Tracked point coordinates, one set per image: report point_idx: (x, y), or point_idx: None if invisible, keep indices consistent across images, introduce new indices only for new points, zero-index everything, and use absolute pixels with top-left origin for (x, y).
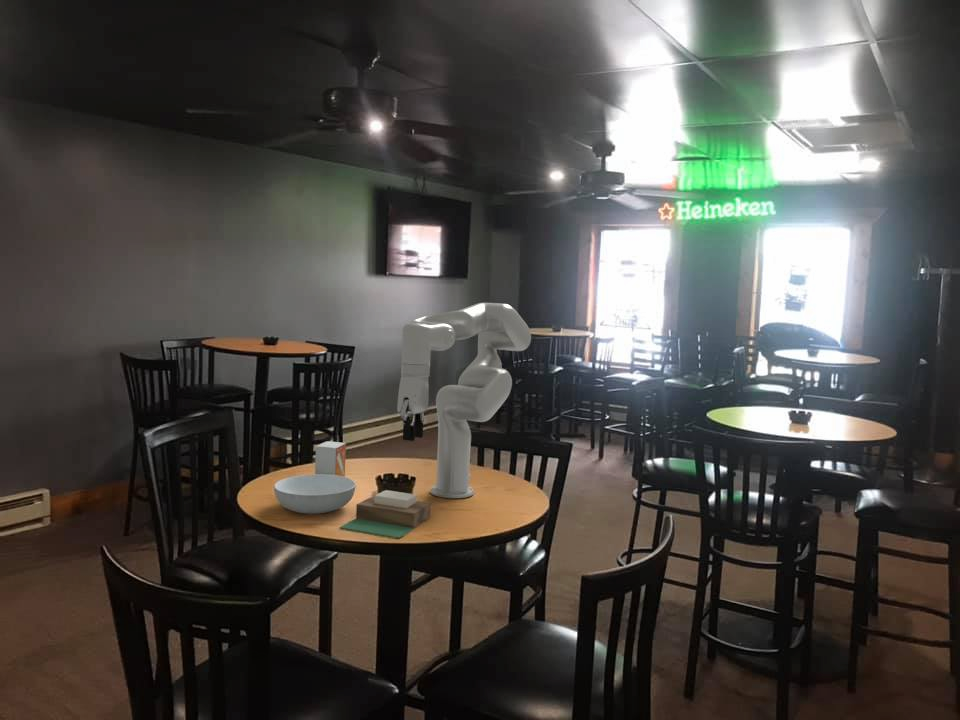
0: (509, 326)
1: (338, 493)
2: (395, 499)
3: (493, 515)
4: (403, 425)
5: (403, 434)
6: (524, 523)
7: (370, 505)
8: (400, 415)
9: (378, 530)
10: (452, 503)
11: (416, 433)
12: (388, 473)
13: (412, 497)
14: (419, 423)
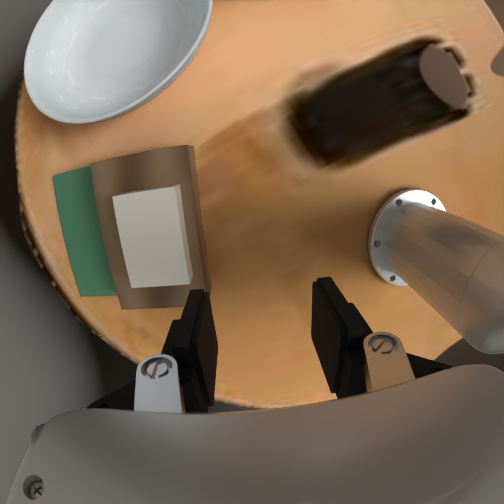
0: None
1: (63, 122)
2: (124, 257)
3: (299, 365)
4: (172, 345)
5: (185, 307)
6: (281, 407)
7: (101, 197)
8: (35, 431)
9: (80, 247)
10: (340, 275)
11: (317, 321)
12: (458, 54)
13: (163, 285)
14: (335, 382)
